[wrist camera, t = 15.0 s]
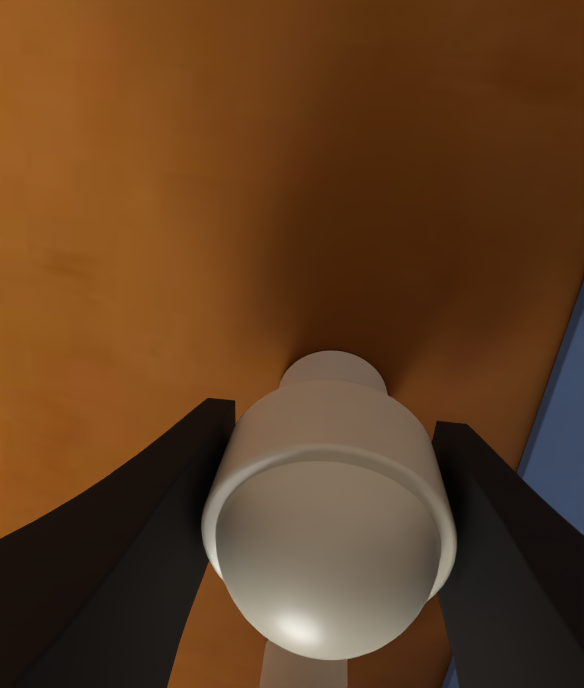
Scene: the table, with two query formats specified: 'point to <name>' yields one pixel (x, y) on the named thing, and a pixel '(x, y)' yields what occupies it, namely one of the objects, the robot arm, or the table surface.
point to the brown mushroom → (300, 670)
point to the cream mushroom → (329, 512)
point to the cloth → (557, 437)
